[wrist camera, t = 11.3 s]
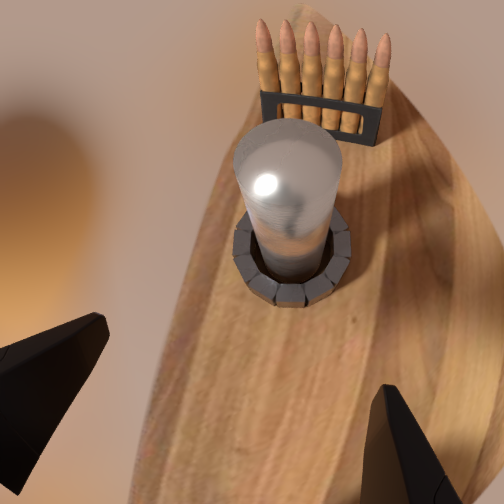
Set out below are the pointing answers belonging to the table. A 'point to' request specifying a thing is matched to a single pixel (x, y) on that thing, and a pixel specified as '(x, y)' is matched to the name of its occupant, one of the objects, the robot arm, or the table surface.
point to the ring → (292, 292)
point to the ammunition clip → (333, 84)
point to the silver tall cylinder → (289, 192)
